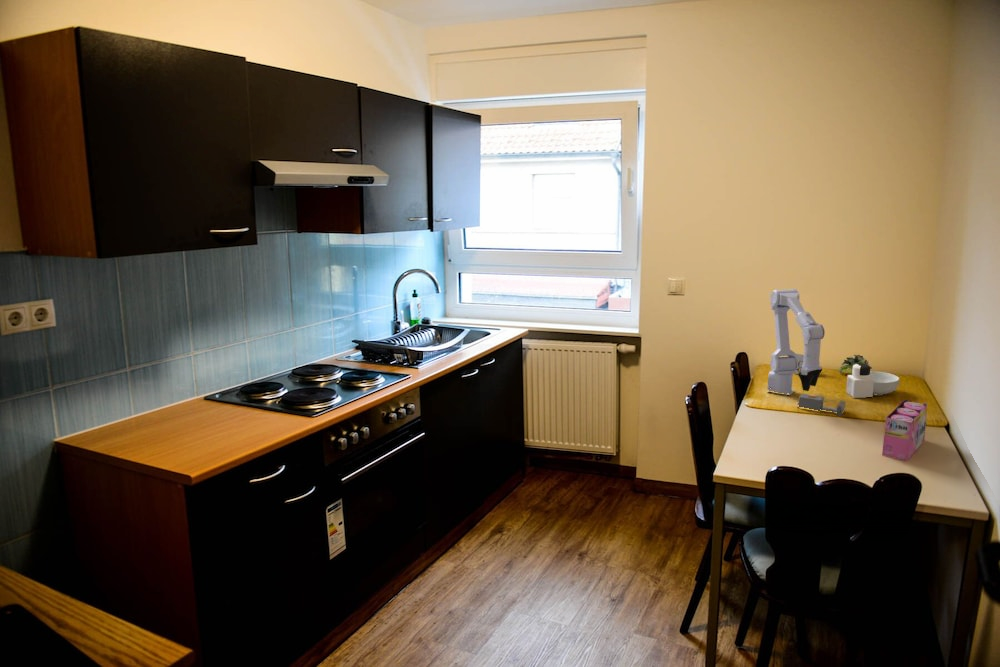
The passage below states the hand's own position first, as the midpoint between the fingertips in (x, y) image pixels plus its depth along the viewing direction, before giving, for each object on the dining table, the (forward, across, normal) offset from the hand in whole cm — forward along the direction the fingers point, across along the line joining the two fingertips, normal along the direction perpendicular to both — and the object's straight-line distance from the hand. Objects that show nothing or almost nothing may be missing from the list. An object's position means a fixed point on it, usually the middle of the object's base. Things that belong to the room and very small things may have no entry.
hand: (809, 388), depth 282 cm
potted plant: (+9, +56, -1) cm, 57 cm away
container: (+8, +28, -11) cm, 31 cm away
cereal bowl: (+9, +35, -16) cm, 39 cm away
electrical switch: (+9, +46, +17) cm, 49 cm away
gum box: (+9, -21, -39) cm, 45 cm away
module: (+8, 0, -1) cm, 9 cm away
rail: (+8, 0, -4) cm, 9 cm away
